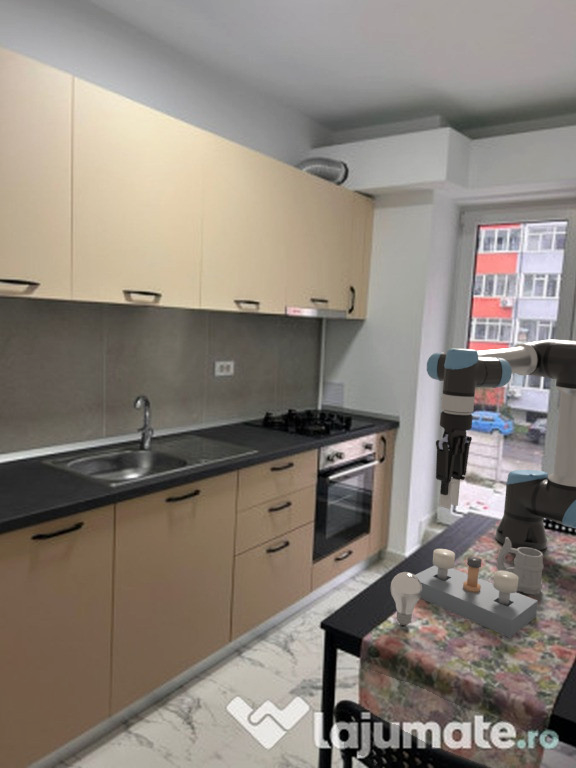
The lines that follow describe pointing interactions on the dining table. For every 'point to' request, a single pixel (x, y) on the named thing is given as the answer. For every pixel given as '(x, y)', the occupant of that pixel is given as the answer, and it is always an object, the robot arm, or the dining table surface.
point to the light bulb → (405, 595)
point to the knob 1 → (443, 562)
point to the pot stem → (472, 575)
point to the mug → (523, 567)
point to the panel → (477, 601)
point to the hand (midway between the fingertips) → (448, 505)
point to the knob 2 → (505, 585)
